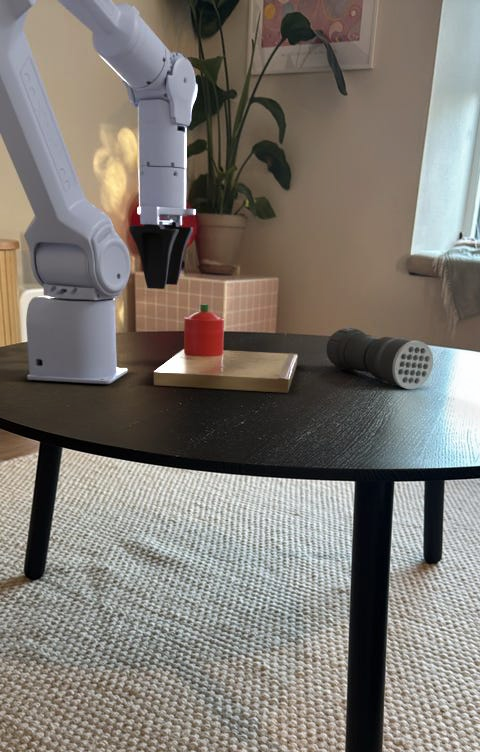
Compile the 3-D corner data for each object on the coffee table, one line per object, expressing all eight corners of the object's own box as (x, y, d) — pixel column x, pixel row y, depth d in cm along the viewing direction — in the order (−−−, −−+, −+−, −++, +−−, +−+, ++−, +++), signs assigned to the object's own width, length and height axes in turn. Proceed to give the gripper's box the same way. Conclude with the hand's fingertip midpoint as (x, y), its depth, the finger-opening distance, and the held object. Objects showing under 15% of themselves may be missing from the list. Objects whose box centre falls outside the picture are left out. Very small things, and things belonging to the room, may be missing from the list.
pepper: (180, 355, 94) (180, 305, 92) (187, 349, 99) (188, 301, 97) (220, 357, 94) (221, 307, 92) (226, 351, 99) (227, 303, 96)
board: (153, 385, 84) (153, 371, 83) (184, 359, 101) (184, 347, 100) (287, 393, 82) (288, 378, 82) (296, 365, 99) (297, 353, 98)
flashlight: (320, 367, 98) (323, 325, 96) (355, 366, 100) (358, 324, 98) (392, 390, 85) (397, 342, 83) (430, 387, 88) (436, 340, 86)
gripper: (183, 164, 83) (182, 292, 88) (205, 173, 97) (203, 283, 102) (121, 162, 84) (124, 289, 89) (151, 172, 98) (152, 281, 103)
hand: (162, 286), depth 96 cm, fingers open, 7 cm apart
